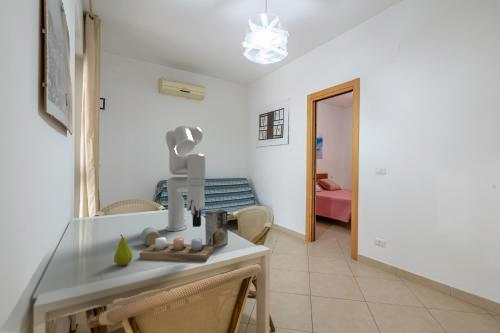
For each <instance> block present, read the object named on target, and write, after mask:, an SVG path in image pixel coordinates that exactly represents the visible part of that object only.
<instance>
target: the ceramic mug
mask: <svg viewBox="0 0 500 333" xmlns="http://www.w3.org/2000/svg"><path fill="white" fill-rule="evenodd" d="M160 237H161V234H160V232H158V230H157V229H156V228H154V227H151V226H149V227H146V228H144V229H143V230H142V231H141V233H140V239H141V242H143V243H144V244H145V245H146V246H148V247H150V246H151V245H153V244H154V243H155V239H156V238H160Z"/></svg>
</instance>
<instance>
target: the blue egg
mask: <svg viewBox="0 0 500 333" xmlns="http://www.w3.org/2000/svg"><path fill="white" fill-rule="evenodd" d="M190 244H191V250H192V251H200V250H202V245H203V238H201V237H197V238H196V237H195V238H193V239H191V240H190Z"/></svg>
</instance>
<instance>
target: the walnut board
mask: <svg viewBox="0 0 500 333" xmlns="http://www.w3.org/2000/svg"><path fill="white" fill-rule="evenodd" d="M214 251H215V248H214V245H206V244H202V250H200V251H192V250H191V243H189V244H188V243H184V249H182V250H173V243H169V242H168V243H167V242H166V248H165V249H162V250H156V249H155V243H154V244H153V245H151V246H148V247H146V248H145V249H143V250H142V251H141V252H139V260H163V261H185V262H186V261H187V262H207V261H208V260H207V259H209V258H210V257H211V255H212V254H213V253H214Z"/></svg>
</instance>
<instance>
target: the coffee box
mask: <svg viewBox="0 0 500 333" xmlns="http://www.w3.org/2000/svg"><path fill="white" fill-rule="evenodd" d="M204 213H205V215H204V219H205V222H204V224H205V231H204V232H205V245H214V249H215V248H218V247H220V246H221V247H222V246H225V245H227V244H228V243H229V239H228V238H229V235H228V233H229V232H228V210H224V209H213V210H209V211H205V212H204Z"/></svg>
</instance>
